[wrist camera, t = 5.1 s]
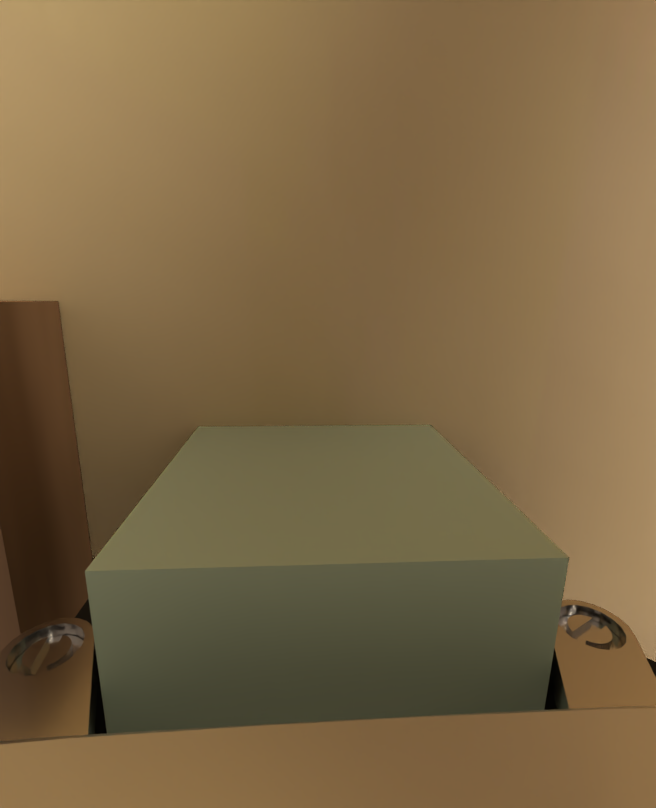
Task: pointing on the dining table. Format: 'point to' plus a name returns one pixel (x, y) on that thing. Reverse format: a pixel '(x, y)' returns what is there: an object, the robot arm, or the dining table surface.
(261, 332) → the dining table surface
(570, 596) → the dining table surface
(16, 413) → the walnut stand
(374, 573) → the sage cube
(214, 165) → the dining table surface
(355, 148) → the dining table surface
